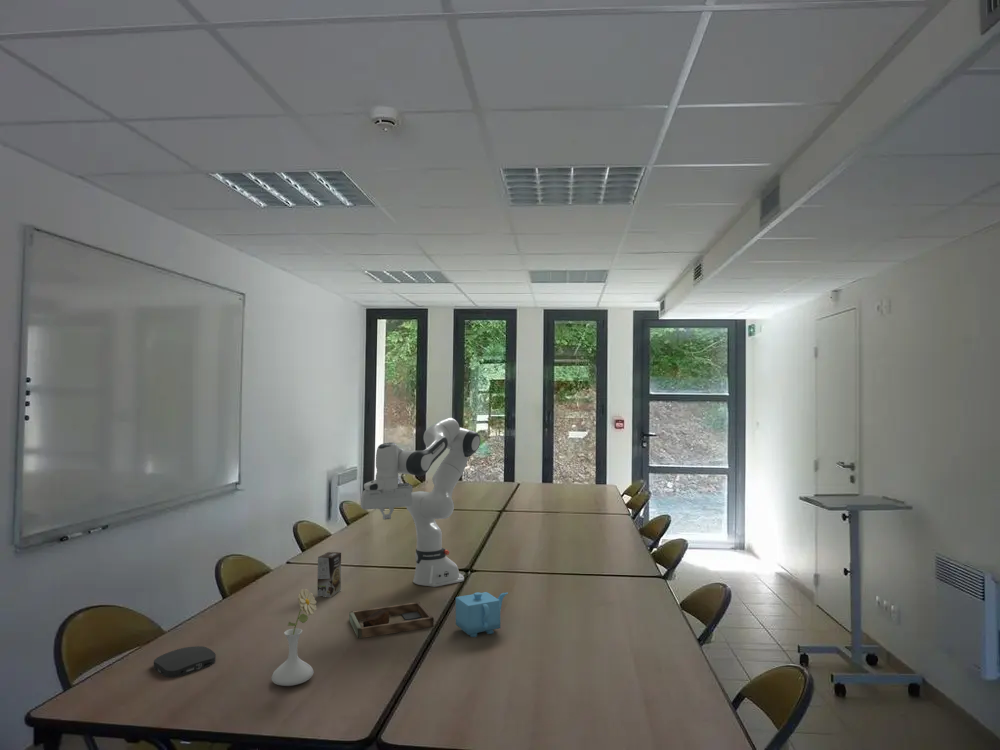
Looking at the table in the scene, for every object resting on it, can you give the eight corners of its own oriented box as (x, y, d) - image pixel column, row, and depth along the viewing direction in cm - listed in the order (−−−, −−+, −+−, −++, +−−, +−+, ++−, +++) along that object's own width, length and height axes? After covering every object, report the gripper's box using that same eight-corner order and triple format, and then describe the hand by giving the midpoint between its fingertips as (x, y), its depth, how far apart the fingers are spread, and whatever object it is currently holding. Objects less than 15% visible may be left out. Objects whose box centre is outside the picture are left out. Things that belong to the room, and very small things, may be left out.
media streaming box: (198, 651, 191) (198, 641, 191) (220, 663, 182) (220, 654, 182) (149, 667, 180) (149, 657, 180) (169, 681, 170) (169, 670, 171)
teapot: (471, 642, 197) (471, 602, 197) (452, 626, 210) (452, 589, 211) (518, 632, 205) (518, 594, 206) (498, 617, 219) (497, 582, 219)
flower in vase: (289, 694, 162) (290, 601, 163) (262, 683, 168) (263, 594, 169) (326, 675, 173) (327, 588, 174) (300, 666, 179) (301, 582, 180)
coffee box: (331, 597, 242) (331, 557, 242) (316, 596, 243) (317, 556, 244) (341, 590, 251) (341, 552, 251) (327, 589, 252) (327, 551, 253)
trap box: (419, 609, 227) (419, 601, 227) (433, 626, 210) (433, 617, 211) (349, 620, 217) (349, 611, 217) (358, 638, 200) (358, 629, 200)
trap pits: (416, 612, 225) (416, 611, 225) (427, 625, 212) (427, 623, 212) (401, 614, 222) (401, 613, 222) (410, 627, 210) (410, 626, 210)
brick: (379, 621, 216) (379, 608, 216) (389, 623, 214) (389, 610, 214) (362, 632, 206) (362, 618, 206) (372, 634, 204) (372, 620, 205)
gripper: (410, 481, 243) (410, 515, 243) (359, 484, 235) (359, 519, 235) (414, 483, 237) (414, 518, 237) (362, 486, 229) (362, 522, 229)
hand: (386, 519), depth 236 cm, fingers closed
